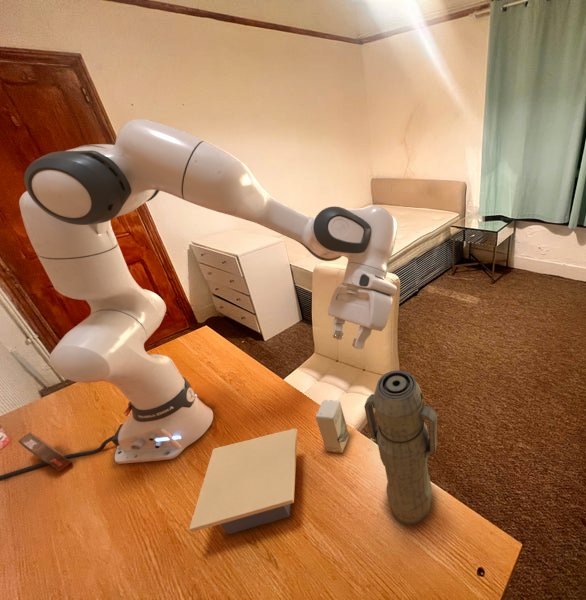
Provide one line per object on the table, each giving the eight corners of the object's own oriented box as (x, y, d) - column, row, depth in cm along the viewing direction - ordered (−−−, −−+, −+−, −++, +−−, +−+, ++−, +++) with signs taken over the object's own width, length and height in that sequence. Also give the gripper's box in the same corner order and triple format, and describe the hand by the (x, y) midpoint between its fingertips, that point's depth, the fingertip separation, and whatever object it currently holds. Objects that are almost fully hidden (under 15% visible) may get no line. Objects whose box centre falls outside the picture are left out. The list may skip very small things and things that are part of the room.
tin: (77, 466, 77) (55, 446, 73) (62, 478, 75) (38, 458, 71) (50, 445, 83) (27, 425, 79) (34, 455, 81) (11, 436, 77)
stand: (209, 551, 60) (188, 529, 55) (228, 471, 73) (213, 448, 68) (304, 522, 63) (292, 499, 58) (305, 451, 76) (296, 427, 71)
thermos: (437, 530, 60) (433, 411, 41) (378, 519, 62) (349, 402, 44) (440, 483, 67) (438, 364, 49) (388, 475, 69) (367, 359, 51)
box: (342, 453, 75) (332, 419, 68) (325, 451, 75) (314, 417, 69) (349, 434, 79) (340, 400, 72) (333, 432, 80) (323, 398, 73)
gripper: (330, 275, 74) (314, 331, 73) (376, 279, 57) (356, 352, 56) (353, 283, 77) (338, 336, 76) (402, 288, 61) (384, 356, 60)
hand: (346, 343), depth 66 cm, fingers open, 8 cm apart
